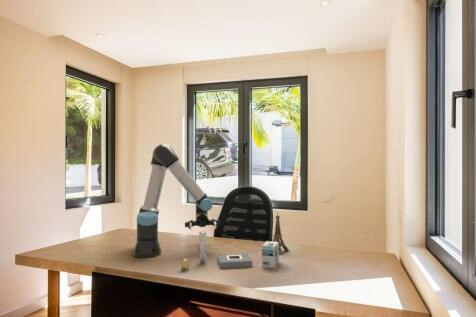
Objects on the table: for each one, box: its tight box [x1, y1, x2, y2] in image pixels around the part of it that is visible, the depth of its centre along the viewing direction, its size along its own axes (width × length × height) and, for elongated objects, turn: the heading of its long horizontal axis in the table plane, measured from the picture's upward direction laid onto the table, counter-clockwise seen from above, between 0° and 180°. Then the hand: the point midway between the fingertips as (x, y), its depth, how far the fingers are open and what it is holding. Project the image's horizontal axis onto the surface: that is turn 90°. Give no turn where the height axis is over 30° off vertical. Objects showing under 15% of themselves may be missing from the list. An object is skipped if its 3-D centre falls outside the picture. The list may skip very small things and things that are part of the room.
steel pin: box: [198, 231, 207, 265], centre depth 164 cm, size 4×4×16 cm
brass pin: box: [180, 258, 190, 272], centre depth 154 cm, size 4×4×5 cm
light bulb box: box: [261, 240, 280, 269], centre depth 161 cm, size 11×7×11 cm, turn 161°
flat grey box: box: [217, 252, 253, 270], centre depth 163 cm, size 16×14×3 cm
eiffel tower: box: [272, 212, 290, 256], centre depth 185 cm, size 11×11×25 cm
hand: (203, 226), depth 174 cm, fingers open, 13 cm apart
